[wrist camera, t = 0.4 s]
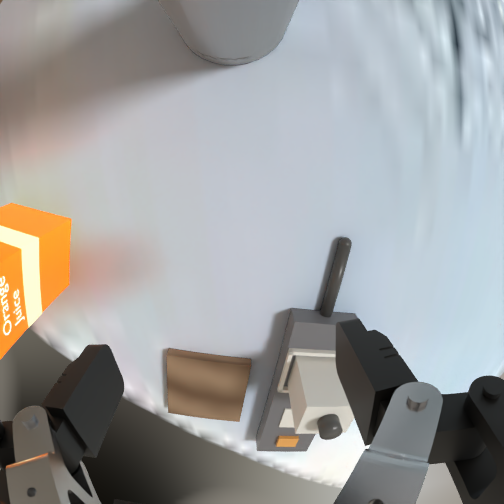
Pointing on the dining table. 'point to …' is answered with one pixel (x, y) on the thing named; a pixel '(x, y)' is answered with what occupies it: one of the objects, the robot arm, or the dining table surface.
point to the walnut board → (206, 384)
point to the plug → (318, 397)
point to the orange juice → (30, 267)
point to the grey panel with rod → (302, 344)
